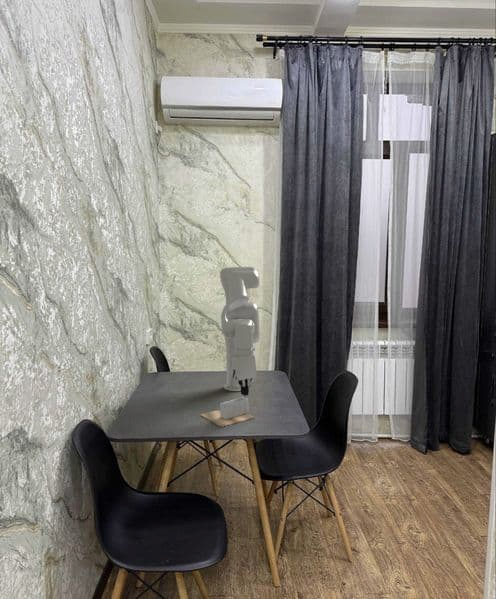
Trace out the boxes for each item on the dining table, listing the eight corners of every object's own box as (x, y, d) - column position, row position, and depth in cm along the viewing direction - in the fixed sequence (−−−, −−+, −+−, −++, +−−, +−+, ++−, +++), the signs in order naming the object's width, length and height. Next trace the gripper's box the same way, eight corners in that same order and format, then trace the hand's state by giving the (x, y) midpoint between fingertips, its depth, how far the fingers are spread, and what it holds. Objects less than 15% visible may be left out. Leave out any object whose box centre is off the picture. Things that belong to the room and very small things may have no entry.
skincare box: (242, 396, 190) (219, 402, 182) (248, 398, 187) (226, 405, 179) (242, 410, 191) (220, 417, 183) (249, 413, 187) (226, 419, 180)
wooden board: (233, 407, 195) (233, 406, 195) (254, 418, 182) (254, 417, 182) (200, 415, 186) (200, 414, 186) (220, 427, 173) (220, 426, 173)
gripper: (253, 348, 194) (253, 389, 196) (224, 352, 185) (224, 396, 187) (263, 350, 188) (264, 393, 190) (234, 356, 179) (234, 400, 181)
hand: (244, 394), depth 188 cm, fingers closed
